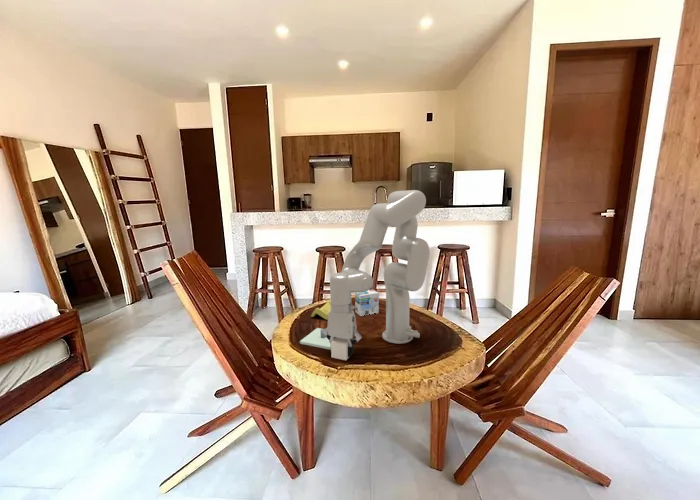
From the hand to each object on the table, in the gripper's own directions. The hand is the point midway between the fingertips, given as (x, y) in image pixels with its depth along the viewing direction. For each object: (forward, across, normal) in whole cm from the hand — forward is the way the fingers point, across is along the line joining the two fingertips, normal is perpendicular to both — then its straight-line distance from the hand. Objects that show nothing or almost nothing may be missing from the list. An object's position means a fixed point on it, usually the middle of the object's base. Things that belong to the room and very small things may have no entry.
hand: (342, 353), depth 113 cm
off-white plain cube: (+1, 0, 0) cm, 1 cm away
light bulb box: (+1, +7, -44) cm, 45 cm away
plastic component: (+1, +24, -37) cm, 44 cm away
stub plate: (+1, +13, -9) cm, 16 cm away
